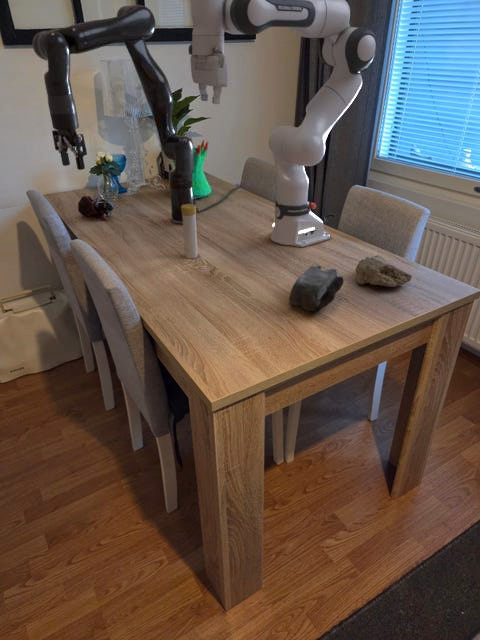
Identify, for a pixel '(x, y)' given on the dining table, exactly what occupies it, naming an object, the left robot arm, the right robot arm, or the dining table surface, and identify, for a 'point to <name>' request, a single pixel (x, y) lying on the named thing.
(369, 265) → the artifact
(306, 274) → the rock
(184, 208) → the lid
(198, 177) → the toy
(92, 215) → the toy
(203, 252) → the dining table surface
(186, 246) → the white tall cylinder
